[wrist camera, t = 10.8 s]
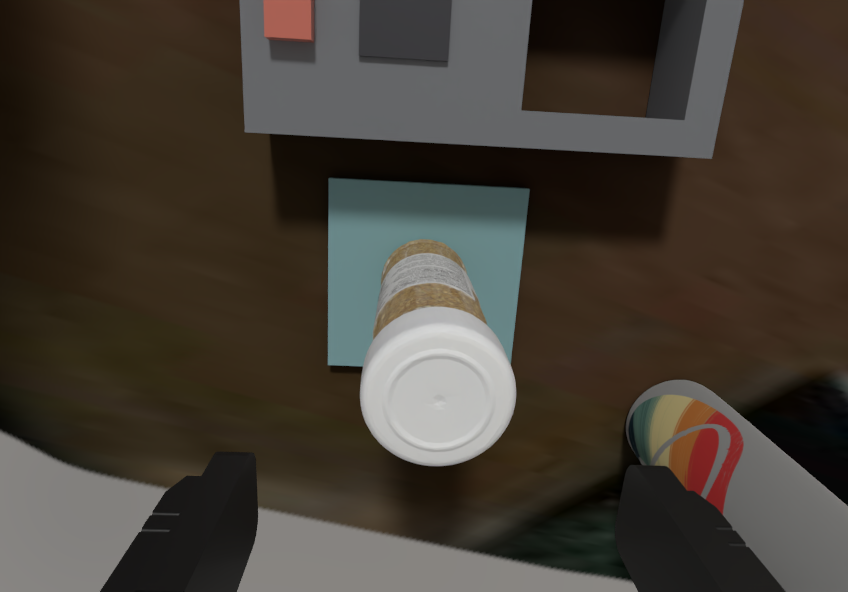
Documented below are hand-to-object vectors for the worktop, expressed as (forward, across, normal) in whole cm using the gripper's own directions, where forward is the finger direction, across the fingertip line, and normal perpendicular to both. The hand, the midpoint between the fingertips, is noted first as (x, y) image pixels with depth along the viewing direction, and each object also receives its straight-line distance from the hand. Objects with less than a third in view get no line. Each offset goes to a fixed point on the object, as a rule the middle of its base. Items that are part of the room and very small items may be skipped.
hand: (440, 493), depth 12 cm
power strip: (+18, -2, -12) cm, 22 cm away
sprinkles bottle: (+17, 0, 0) cm, 17 cm away
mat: (+18, 0, 0) cm, 18 cm away
